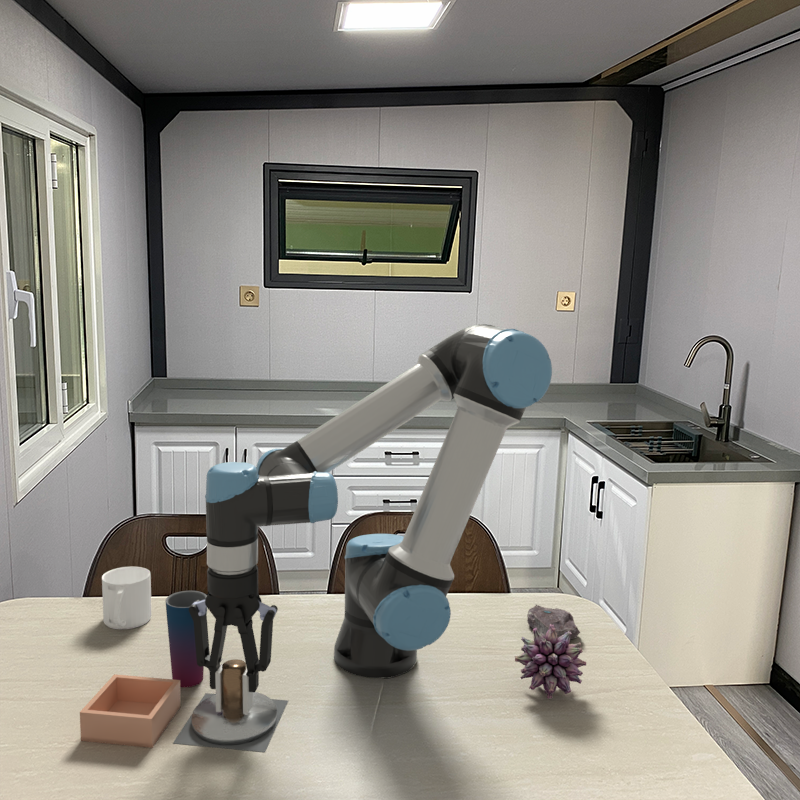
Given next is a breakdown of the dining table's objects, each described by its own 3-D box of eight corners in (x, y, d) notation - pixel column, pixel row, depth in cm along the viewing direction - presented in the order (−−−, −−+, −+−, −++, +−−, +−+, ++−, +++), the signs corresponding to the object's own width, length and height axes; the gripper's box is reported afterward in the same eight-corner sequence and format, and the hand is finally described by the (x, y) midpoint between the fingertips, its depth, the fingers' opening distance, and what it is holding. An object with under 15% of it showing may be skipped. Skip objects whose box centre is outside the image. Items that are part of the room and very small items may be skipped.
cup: (197, 694, 132) (196, 609, 129) (159, 689, 133) (157, 604, 130) (215, 674, 138) (214, 593, 136) (178, 669, 140) (177, 588, 137)
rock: (552, 617, 165) (554, 596, 164) (585, 642, 155) (586, 620, 154) (518, 623, 162) (519, 602, 161) (549, 648, 152) (550, 626, 151)
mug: (116, 608, 163) (114, 565, 161) (158, 611, 162) (157, 568, 160) (87, 635, 151) (85, 588, 149) (133, 638, 150) (131, 592, 148)
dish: (180, 708, 127) (180, 680, 127) (152, 750, 117) (151, 718, 116) (115, 702, 128) (114, 674, 128) (81, 743, 118) (79, 712, 117)
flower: (561, 721, 127) (566, 652, 125) (499, 692, 135) (503, 627, 133) (597, 694, 136) (602, 629, 134) (537, 668, 144) (541, 606, 142)
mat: (288, 702, 130) (288, 700, 130) (264, 754, 116) (264, 752, 116) (205, 695, 132) (205, 693, 131) (172, 745, 118) (172, 743, 118)
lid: (285, 700, 130) (285, 648, 128) (263, 748, 117) (263, 691, 115) (208, 694, 131) (207, 642, 129) (178, 740, 118) (177, 683, 117)
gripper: (292, 559, 122) (292, 699, 126) (188, 553, 124) (191, 691, 128) (280, 579, 115) (280, 726, 119) (169, 571, 117) (173, 717, 121)
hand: (234, 707), depth 124 cm, fingers closed on lid, 4 cm apart
